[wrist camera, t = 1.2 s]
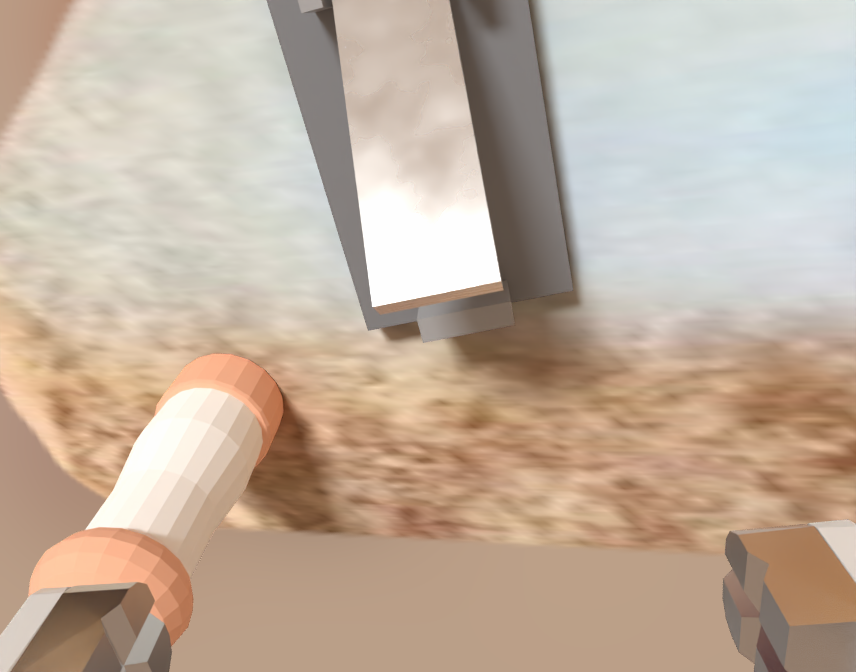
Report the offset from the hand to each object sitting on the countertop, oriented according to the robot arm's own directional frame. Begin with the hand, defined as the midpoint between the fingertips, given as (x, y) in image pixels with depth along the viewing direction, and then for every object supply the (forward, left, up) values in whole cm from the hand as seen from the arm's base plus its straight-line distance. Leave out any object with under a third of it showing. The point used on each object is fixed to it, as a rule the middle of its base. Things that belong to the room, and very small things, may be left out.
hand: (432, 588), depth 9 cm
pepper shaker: (+18, +12, -31) cm, 38 cm away
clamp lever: (+1, -3, -23) cm, 23 cm away
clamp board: (+1, -2, -30) cm, 30 cm away
